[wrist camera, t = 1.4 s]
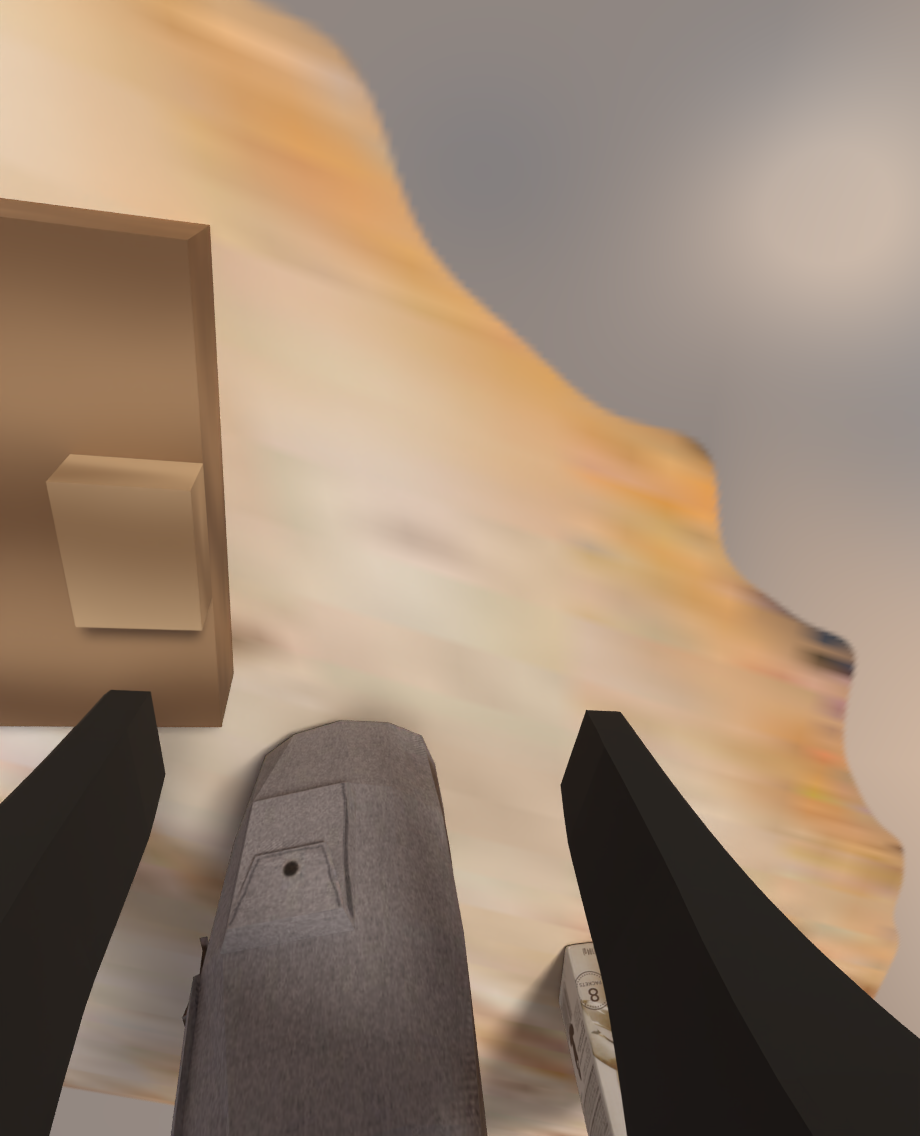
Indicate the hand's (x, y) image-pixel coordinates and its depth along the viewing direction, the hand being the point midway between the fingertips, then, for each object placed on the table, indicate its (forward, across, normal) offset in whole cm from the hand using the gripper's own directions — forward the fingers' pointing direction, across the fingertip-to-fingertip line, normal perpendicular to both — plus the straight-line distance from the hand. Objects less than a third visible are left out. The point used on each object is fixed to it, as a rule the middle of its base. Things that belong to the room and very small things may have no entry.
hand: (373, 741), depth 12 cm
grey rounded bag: (+10, +1, +15) cm, 18 cm away
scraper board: (+10, +9, +1) cm, 14 cm away
